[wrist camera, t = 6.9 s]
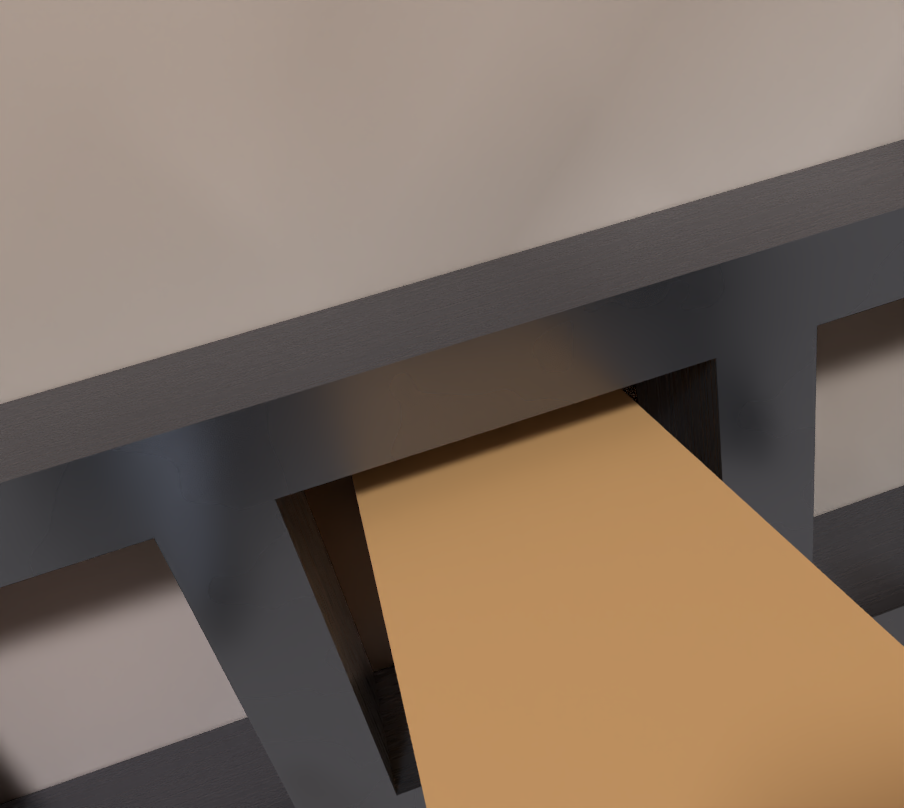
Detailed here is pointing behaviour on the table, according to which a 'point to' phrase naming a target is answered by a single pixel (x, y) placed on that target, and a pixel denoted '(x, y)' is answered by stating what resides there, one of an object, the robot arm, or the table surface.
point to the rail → (436, 424)
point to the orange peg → (619, 629)
